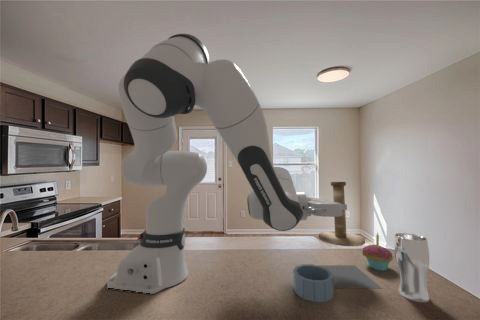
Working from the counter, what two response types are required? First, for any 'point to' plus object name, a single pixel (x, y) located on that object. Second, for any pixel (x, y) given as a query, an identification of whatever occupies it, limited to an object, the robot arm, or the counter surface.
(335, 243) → the brown piece
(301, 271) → the bowl
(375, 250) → the cupcake
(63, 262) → the counter surface
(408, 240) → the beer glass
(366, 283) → the mat
